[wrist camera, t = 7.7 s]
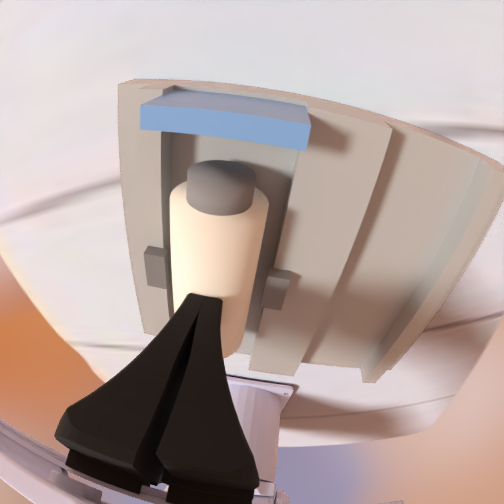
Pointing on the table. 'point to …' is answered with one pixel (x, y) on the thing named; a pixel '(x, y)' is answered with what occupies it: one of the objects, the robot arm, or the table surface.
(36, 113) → the table surface
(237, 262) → the cream cylinder
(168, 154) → the beige mounting plate
